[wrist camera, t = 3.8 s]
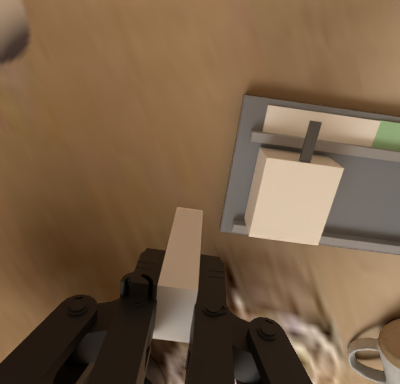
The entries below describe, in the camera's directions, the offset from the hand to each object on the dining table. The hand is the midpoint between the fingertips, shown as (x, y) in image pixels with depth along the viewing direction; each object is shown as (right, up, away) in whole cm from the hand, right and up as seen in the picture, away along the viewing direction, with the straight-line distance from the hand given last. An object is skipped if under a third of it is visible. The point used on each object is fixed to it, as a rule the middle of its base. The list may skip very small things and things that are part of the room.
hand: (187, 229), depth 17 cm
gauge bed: (+14, +3, +11) cm, 18 cm away
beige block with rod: (+9, +4, +9) cm, 13 cm away
